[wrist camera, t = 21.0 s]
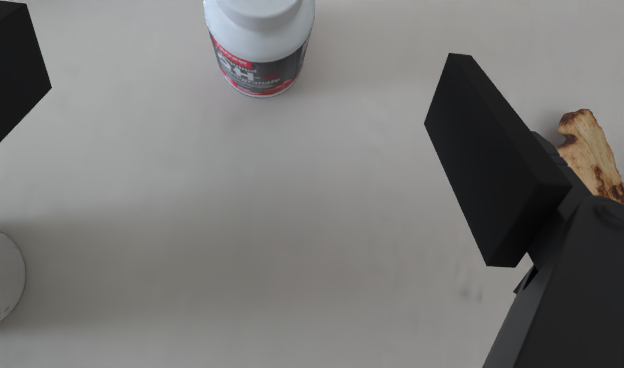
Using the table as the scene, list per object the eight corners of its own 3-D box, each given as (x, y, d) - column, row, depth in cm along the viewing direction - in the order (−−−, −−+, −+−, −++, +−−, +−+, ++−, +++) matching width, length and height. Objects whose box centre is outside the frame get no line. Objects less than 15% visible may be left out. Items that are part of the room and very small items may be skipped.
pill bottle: (217, 98, 26) (189, 28, 16) (219, 16, 27) (193, -99, 17) (302, 101, 27) (323, 36, 17) (303, 21, 27) (324, -87, 17)
